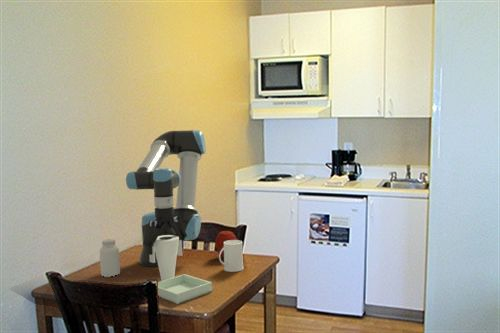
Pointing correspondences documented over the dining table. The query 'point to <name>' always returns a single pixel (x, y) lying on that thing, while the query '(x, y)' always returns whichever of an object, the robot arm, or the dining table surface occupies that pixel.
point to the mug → (232, 256)
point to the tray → (183, 288)
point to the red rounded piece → (223, 240)
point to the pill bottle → (109, 258)
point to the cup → (166, 255)
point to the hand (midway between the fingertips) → (166, 258)
